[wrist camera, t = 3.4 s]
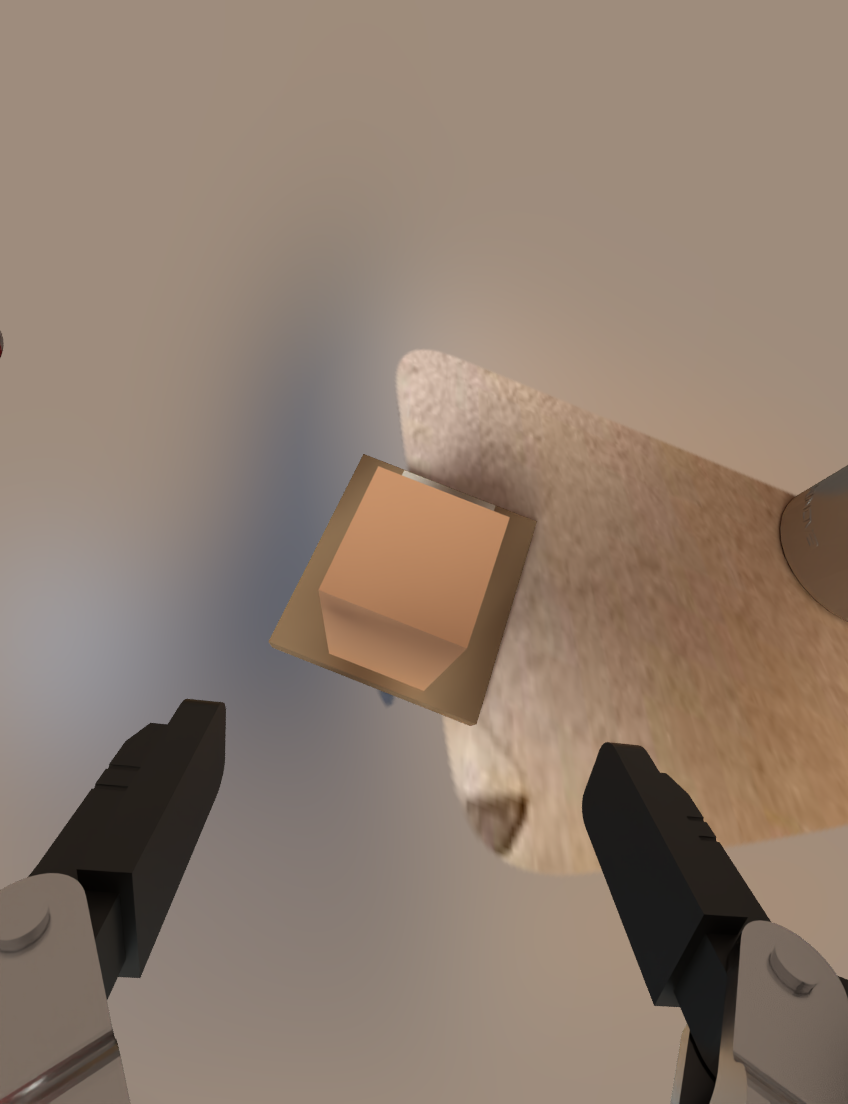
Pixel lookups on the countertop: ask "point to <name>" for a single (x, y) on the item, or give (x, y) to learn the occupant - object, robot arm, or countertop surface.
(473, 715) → the board
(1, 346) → the soda can
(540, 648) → the countertop surface
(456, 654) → the orange rectangular block
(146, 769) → the robot arm
